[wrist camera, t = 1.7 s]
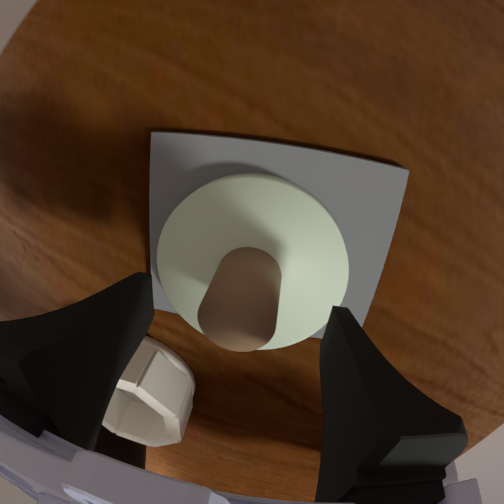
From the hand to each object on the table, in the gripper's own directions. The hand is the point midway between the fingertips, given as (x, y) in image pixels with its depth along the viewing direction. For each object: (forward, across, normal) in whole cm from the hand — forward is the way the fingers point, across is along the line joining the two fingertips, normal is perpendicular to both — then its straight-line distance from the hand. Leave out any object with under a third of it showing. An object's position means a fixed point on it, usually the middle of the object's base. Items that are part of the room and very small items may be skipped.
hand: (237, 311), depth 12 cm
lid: (+4, 0, 0) cm, 4 cm away
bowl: (+5, +7, +11) cm, 14 cm away
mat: (+5, -1, -1) cm, 5 cm away
